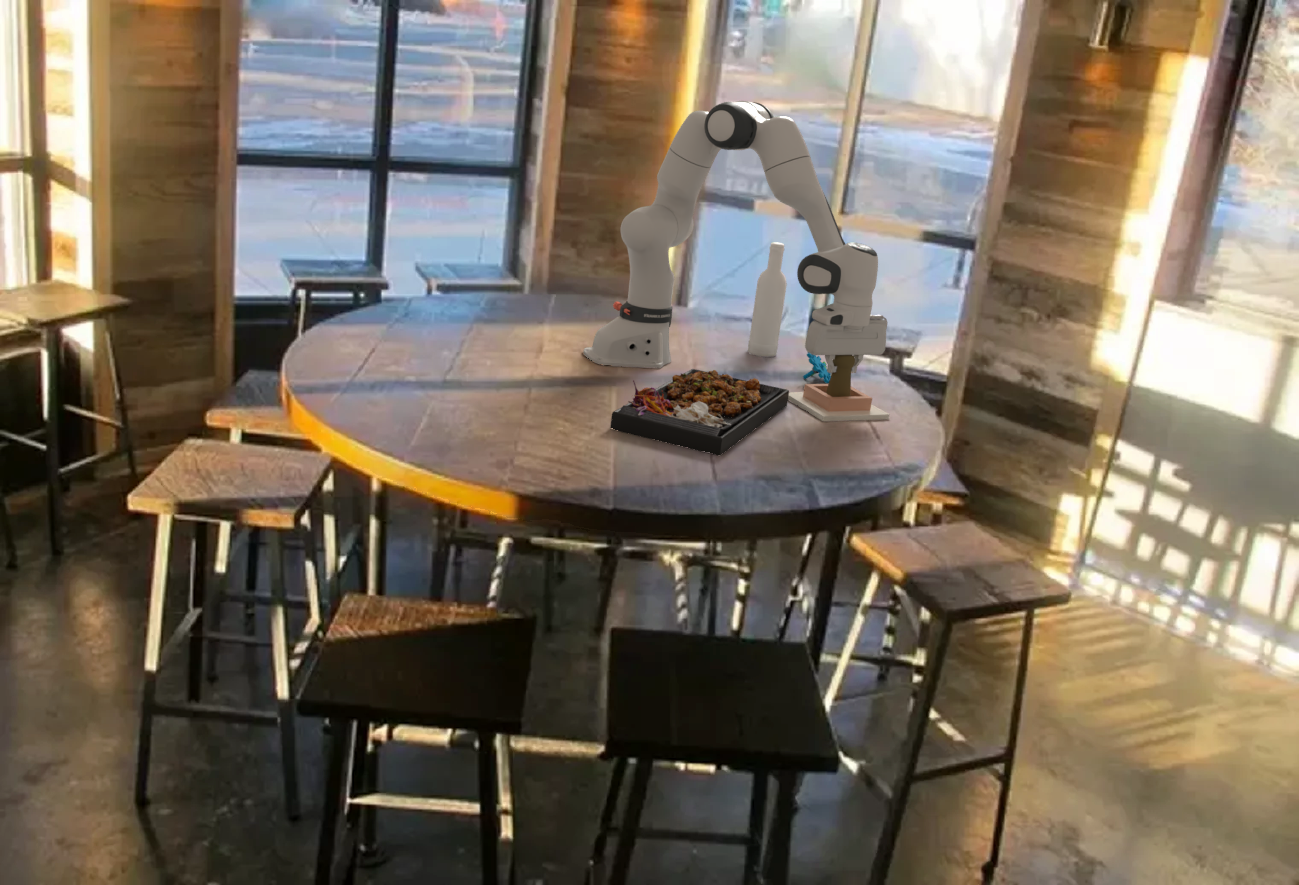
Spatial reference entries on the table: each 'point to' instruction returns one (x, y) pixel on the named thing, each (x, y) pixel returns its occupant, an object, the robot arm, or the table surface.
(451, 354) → the table surface
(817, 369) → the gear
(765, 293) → the bottle
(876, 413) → the holder
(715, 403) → the food platter
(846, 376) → the cork
